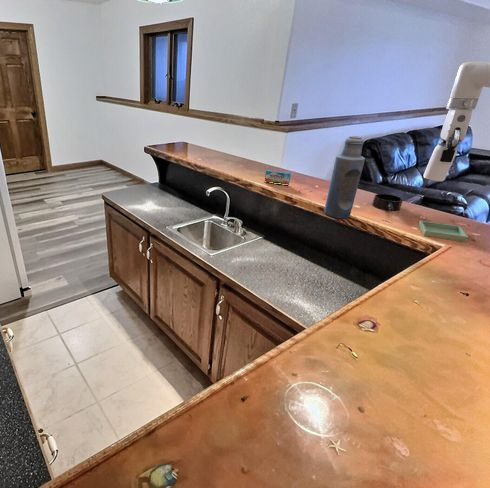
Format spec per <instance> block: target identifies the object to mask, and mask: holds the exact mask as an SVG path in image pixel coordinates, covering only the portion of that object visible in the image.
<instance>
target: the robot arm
mask: <svg viewBox="0 0 490 488" xmlns="http://www.w3.org/2000/svg"><path fill="white" fill-rule="evenodd" d="M483 88H490V61H489V62H487V61H467V62H463V63H461V64H460V66H459V68H458V70H457V73H456V76H455V79H454V82H453V85H452V88H451V92H450V95H449V98H448V101H447V104H446V107H445V109H446V110H448V112H447V114H446V117H445V119H444V121H443V122H444V123H443V125H442V128H441V131H440V135H439V136H440V141H439V143H446V146H445V149H443V152H442V155H441V158H440V161H441V162H452V159H453V156H454V153H455V150H456V147H457V146H458V144H459V142H461V143H462V142H464V140H465V138H466V134H467V132H468V128H469V124H470V121H471V118H472V112H473V111H475V110H476V107H477V104H478V102H479V99H480V96H481V93H482V90H483ZM457 148H458V147H457Z"/></svg>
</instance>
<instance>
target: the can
mask: <svg viewBox="0 0 490 488" xmlns="http://www.w3.org/2000/svg"><path fill="white" fill-rule="evenodd" d="M445 146H446V143H440V142H439V143H437V145H436V146H435V147H434V149H433V152H432V154H431V156H430V158H429V161H428V163H427V165H426V168H425V170H424V172H423V178H424V179H425V180H428V181H432V182H437V183H438V182H444V181H445V180H446V178H447V176H448V173H449V171H450V169H451V167H452V165H453V162H454V161H455V158H456V156H457V153H458V147H459V146H458V145H457V147H456V150H455V153H454V156H453V159H452V162H441V161H440V158H441V155H442V152H443V149H445Z"/></svg>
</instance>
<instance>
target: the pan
mask: <svg viewBox="0 0 490 488" xmlns="http://www.w3.org/2000/svg"><path fill="white" fill-rule="evenodd" d="M403 199H404V198H403V197H401V196H398V195H395V194H390V193H376V194H375V195H374V196H373V200H372V203H371V204H372V207H374V208H376V209H378V210H383V211H389V212H397V211H400V210H401V207H402V205H403V201H404V200H403Z"/></svg>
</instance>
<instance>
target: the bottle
mask: <svg viewBox="0 0 490 488" xmlns="http://www.w3.org/2000/svg"><path fill="white" fill-rule="evenodd" d="M364 142H365V141H364V139H363V138H362V136H358V135H349V136H348V137H347V138H346V139H345V141H344V146H343V148H342V151H341V153H340V154H336V156H335V159H334V166H333V169H332V174H331V178H330V183H329V187H328V191H327V197H326V200H325V201H326V202H325V206H324V209H323V213H324V215H327V216H329V217H331V218H334V219H335V218H336V219H348V218H349V217H350V216H351V214H352V209H353V206H354V203H355V198H356V195H357V191H358V187H359V184H360V179H361V176H362V172H363V168H364V165H365V160H366V157H364V156H362V152H363V151H362V149H363V145H364Z"/></svg>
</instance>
